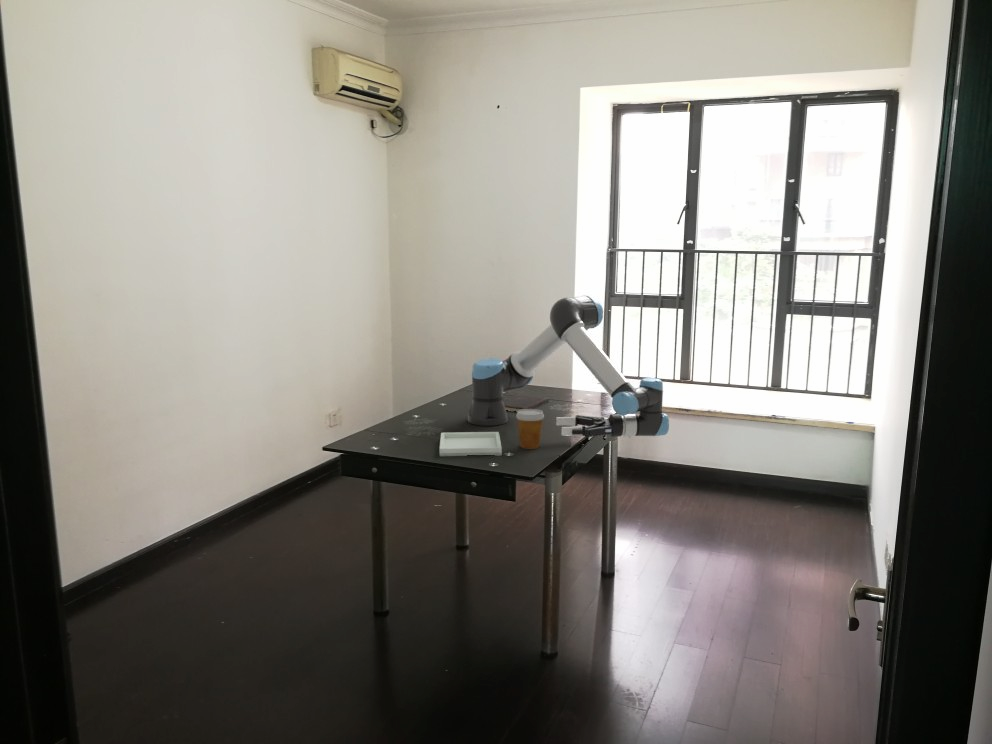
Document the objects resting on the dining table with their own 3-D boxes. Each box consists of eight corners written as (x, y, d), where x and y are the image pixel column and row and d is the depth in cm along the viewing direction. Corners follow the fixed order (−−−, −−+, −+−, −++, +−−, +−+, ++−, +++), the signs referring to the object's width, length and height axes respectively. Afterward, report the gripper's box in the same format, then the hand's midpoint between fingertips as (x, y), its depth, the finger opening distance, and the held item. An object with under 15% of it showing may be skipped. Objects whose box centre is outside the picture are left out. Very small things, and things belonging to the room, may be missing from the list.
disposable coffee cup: (544, 443, 257) (544, 408, 255) (543, 450, 248) (543, 415, 245) (516, 442, 258) (516, 408, 256) (514, 450, 249) (514, 414, 246)
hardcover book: (490, 409, 308) (490, 404, 308) (515, 399, 328) (515, 394, 327) (524, 414, 300) (524, 408, 300) (549, 403, 320) (549, 398, 320)
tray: (439, 456, 242) (439, 448, 241) (441, 439, 261) (441, 432, 261) (501, 455, 243) (501, 447, 242) (498, 438, 262) (498, 431, 262)
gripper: (629, 446, 241) (563, 447, 240) (614, 426, 266) (554, 427, 265) (630, 423, 240) (564, 424, 239) (614, 406, 264) (554, 407, 264)
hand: (558, 426), depth 252 cm, fingers open, 13 cm apart
